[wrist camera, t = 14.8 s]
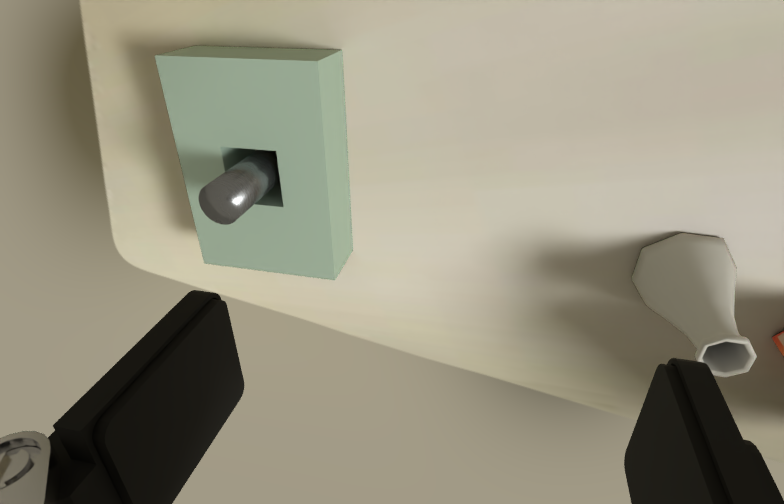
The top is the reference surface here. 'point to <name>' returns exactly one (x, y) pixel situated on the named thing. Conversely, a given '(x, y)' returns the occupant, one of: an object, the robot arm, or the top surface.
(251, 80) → the green block with hole
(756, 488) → the robot arm
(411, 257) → the top surface
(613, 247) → the top surface
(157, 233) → the top surface
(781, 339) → the cracker box
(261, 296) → the top surface
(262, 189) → the peg
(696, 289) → the flask
